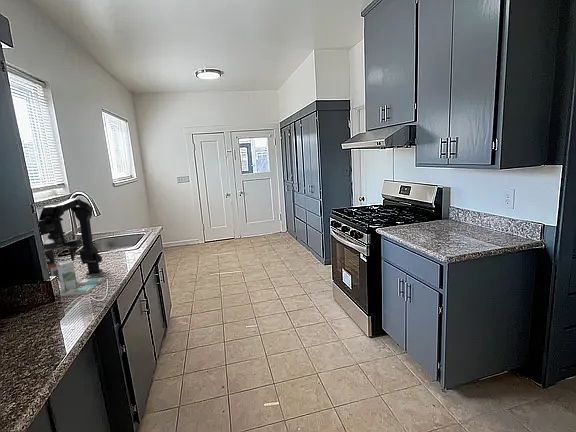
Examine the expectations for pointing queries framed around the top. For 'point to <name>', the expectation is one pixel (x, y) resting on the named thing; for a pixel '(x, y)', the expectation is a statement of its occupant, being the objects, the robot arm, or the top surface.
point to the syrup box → (67, 275)
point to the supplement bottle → (52, 268)
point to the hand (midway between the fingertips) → (63, 262)
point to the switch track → (86, 289)
